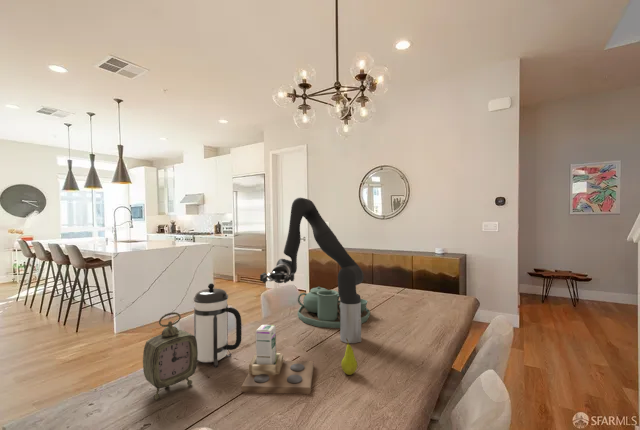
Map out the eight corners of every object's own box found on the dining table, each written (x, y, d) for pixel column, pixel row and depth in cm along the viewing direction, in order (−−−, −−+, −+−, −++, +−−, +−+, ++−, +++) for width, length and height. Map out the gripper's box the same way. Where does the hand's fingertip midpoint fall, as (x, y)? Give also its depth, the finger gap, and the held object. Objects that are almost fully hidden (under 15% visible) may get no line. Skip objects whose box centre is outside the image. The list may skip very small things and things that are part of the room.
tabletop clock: (152, 404, 96) (152, 321, 96) (140, 393, 102) (140, 315, 102) (197, 384, 107) (197, 310, 107) (184, 375, 113) (184, 305, 113)
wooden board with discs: (313, 366, 119) (313, 353, 119) (310, 393, 101) (310, 378, 101) (255, 365, 120) (255, 352, 120) (241, 392, 102) (241, 376, 102)
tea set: (382, 324, 165) (382, 292, 165) (307, 332, 154) (306, 298, 154) (353, 303, 203) (353, 277, 203) (291, 309, 192) (291, 281, 192)
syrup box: (271, 372, 111) (271, 330, 111) (255, 370, 112) (255, 329, 112) (276, 364, 117) (276, 324, 117) (261, 363, 118) (261, 323, 118)
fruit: (353, 379, 110) (353, 345, 110) (338, 375, 113) (338, 341, 113) (360, 372, 115) (360, 339, 115) (345, 368, 118) (345, 336, 118)
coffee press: (193, 374, 114) (193, 290, 114) (189, 356, 128) (188, 281, 128) (242, 363, 122) (241, 285, 122) (232, 347, 136) (232, 277, 136)
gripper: (265, 264, 147) (257, 271, 130) (296, 264, 146) (291, 271, 130) (265, 281, 147) (257, 289, 130) (296, 281, 146) (292, 289, 130)
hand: (274, 280), depth 130 cm, fingers open, 8 cm apart
